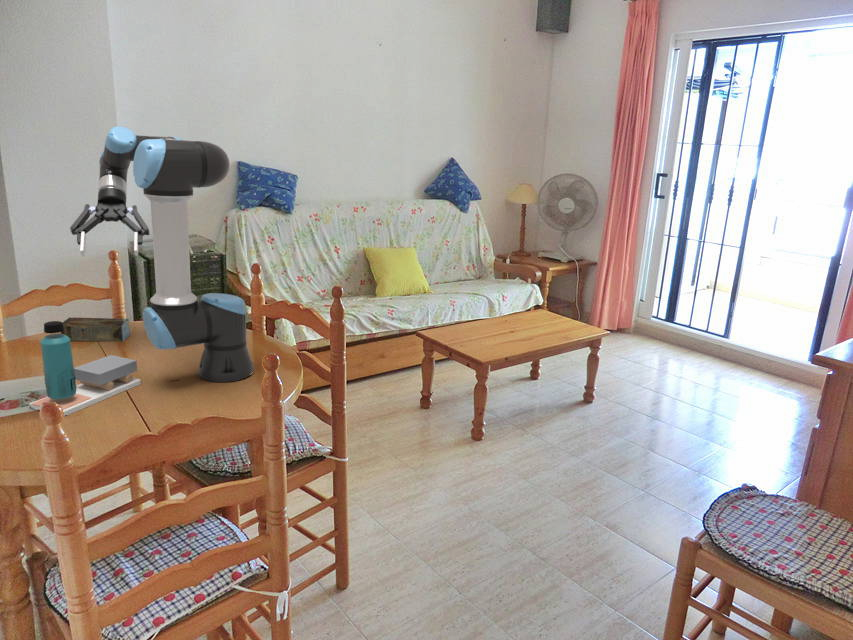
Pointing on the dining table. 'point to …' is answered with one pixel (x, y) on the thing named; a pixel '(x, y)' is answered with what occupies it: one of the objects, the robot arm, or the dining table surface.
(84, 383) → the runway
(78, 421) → the dining table surface
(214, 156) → the robot arm
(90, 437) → the dining table surface
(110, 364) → the slab
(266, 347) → the dining table surface
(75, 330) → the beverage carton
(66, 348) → the beverage bottle
